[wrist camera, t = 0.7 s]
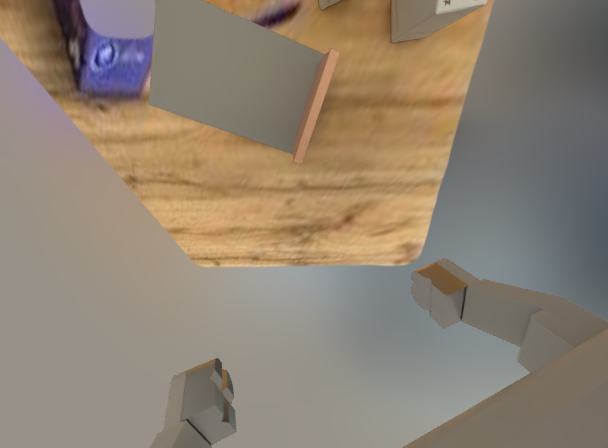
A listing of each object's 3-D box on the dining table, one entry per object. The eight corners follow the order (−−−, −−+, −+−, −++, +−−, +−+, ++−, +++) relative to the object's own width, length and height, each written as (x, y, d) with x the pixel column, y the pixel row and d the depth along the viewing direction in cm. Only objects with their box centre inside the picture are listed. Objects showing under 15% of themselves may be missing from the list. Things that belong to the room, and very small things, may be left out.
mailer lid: (328, 56, 34) (344, 41, 25) (296, 154, 40) (298, 172, 31) (159, -18, 30) (100, -72, 20) (150, 104, 36) (101, 106, 26)
